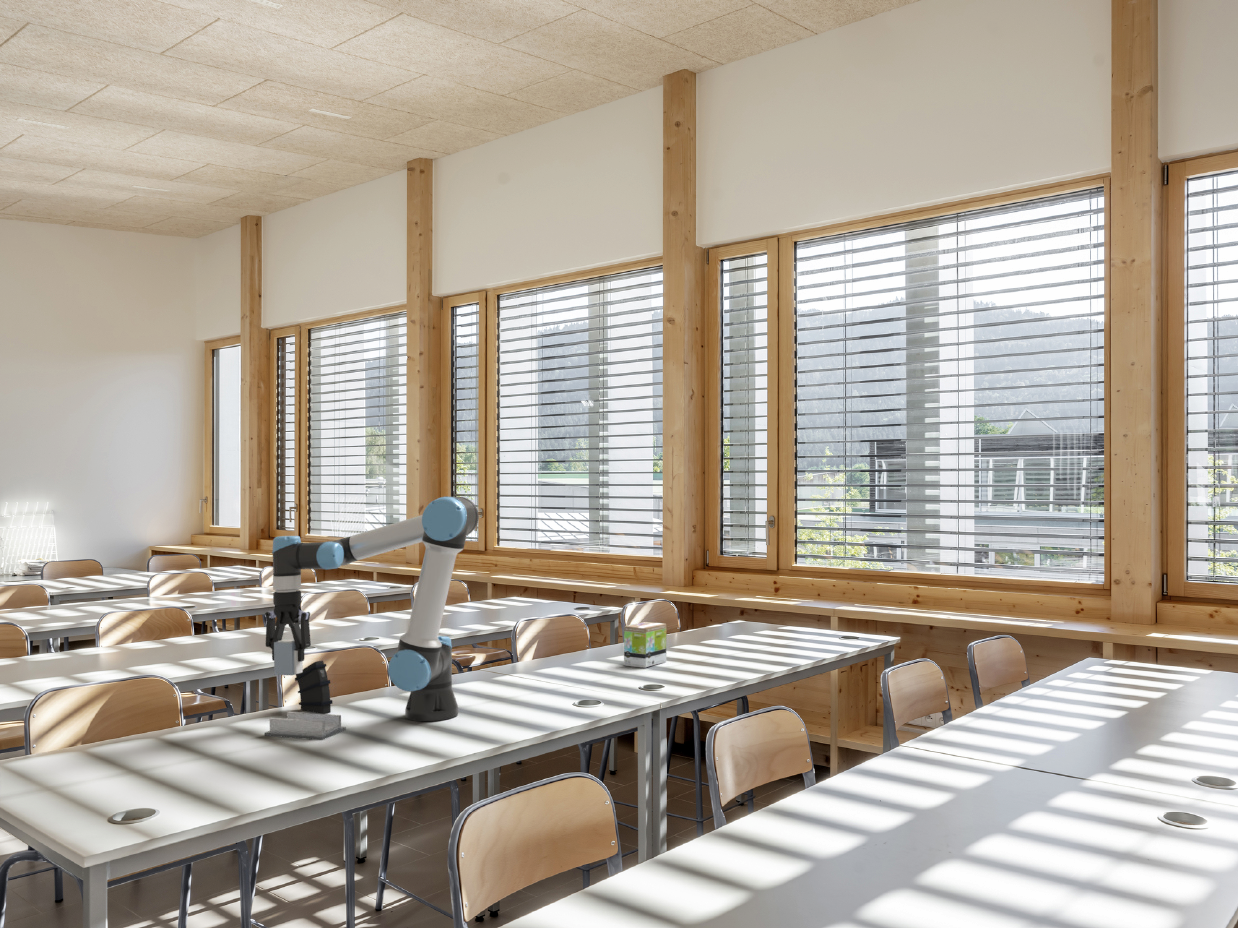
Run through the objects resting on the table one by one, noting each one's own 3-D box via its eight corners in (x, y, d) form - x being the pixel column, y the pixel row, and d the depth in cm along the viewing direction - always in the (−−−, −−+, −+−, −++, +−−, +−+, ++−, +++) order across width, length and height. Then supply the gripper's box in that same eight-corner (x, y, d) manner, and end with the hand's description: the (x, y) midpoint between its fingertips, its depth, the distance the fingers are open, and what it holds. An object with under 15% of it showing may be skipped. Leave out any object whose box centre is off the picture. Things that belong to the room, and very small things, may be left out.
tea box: (646, 668, 349) (646, 627, 350) (623, 666, 355) (622, 625, 355) (667, 661, 362) (666, 622, 362) (644, 659, 367) (644, 620, 368)
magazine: (328, 710, 281) (314, 661, 285) (303, 724, 288) (290, 676, 292) (339, 707, 284) (325, 659, 288) (314, 721, 291) (300, 674, 295)
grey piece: (345, 729, 264) (345, 713, 264) (322, 739, 254) (322, 723, 254) (289, 725, 270) (289, 710, 270) (264, 735, 259) (264, 719, 259)
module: (302, 672, 273) (301, 639, 274) (292, 675, 269) (291, 641, 269) (284, 671, 275) (284, 638, 275) (274, 674, 271) (273, 641, 271)
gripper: (323, 589, 273) (325, 671, 273) (268, 588, 279) (269, 668, 279) (307, 592, 266) (308, 676, 265) (250, 591, 272) (251, 673, 272)
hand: (288, 672), depth 272 cm, fingers closed on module, 6 cm apart
